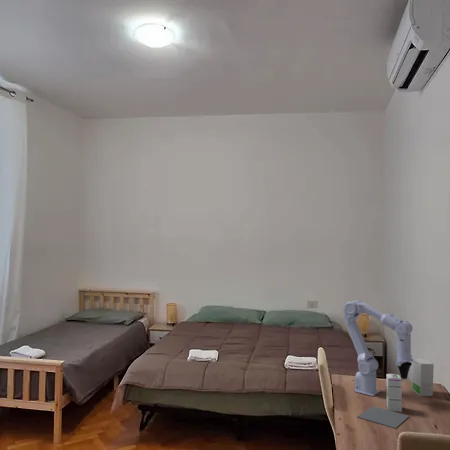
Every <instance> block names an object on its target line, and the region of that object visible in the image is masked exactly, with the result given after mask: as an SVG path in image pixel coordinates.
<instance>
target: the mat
mask: <svg viewBox="0 0 450 450" xmlns="http://www.w3.org/2000/svg"><path fill="white" fill-rule="evenodd" d="M356 418H358V419H361V420H363V421H368V422H372V423H376V424H378V425H381V426H385V427H388V428H391V429H397V428H398V427H400V425H402V424H403V423H404V422H405V421H407V420H408V419H409V418H410V415H406V414H403V413H401V412H395V411H389V410H388V409H386V408H382V407H381V408H380V407H377V406H374V405H372V406H370V407H369V408H367V409H366V410H365V411H363V412H362V413H360V414H359V415H357V417H356ZM407 418H408V419H407Z"/></svg>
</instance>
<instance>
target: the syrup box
mask: <svg viewBox="0 0 450 450" xmlns="http://www.w3.org/2000/svg"><path fill="white" fill-rule="evenodd" d="M385 376H386V379H385V380H386V381H385V382H386V383H385V384H386V385H385V386H386V408H387V410H389V411H393V412H397V413H403V395H402V394H403V391H402V378H401V375H400V374H395V373H386V375H385Z"/></svg>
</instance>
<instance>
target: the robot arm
mask: <svg viewBox="0 0 450 450" xmlns="http://www.w3.org/2000/svg"><path fill="white" fill-rule="evenodd" d="M342 308H343V309H342V310H343V322H344V325H345V328H346V329H347V332H348V334H349V336H350V339H351V341H352V345H353V347H354V349H355V351H356V354H357V364H358V365H357V366H358V371H357V372H356V373H355V376H354V378H355V379H354V392H356V393H359V394H364V395H367V396H371V397H374V396H376V395H377V394H378V393H380V392H381V391H380V390H378V389H377V370H378V369H379V362H378V360H377V359H376V358H375V357H374V355H373V354H372V353H371V352H370V351H369V349H368V347H367V345H366V342H365V340H364V339H365V338H364V336H363V334H362V332H361V330H360V327H359V325H358V322H357V319H358V316H359V315H360V314H367V315H369V316H371V317H373V318H375V319H377V320H379V321H380V322H381V324H382V325H383V326H385V327H387V328H389V329H391V330H392V331H394V332H395V333H396V335H397V337H396V338H397V339H396V340H397V341H396V344H397V346H396V347H397V348H396V349H397V351H396V353H397V354H396V355H397V357H396V360H395V366H397V368H398V371H399V375H400V377H401V379H403V380H407V379H408V375H409V371H410V368H411V366H413V359H414V358H413V355H412V353H411V352H412V345H411V344H412V339H411V337H412V336H411V335H412V334H411V333H412V332H413V325H412V323H411V322H409V321H408V320H403V319H402V318H398V317H396V316H394V314H393V313H388V312H387V313H383V312H382V311H379V310H378V309H376V308H374V307H373V306H371V305H370V304H369V303H367V302H365V301H363V300H361V299H355V300H352V301H347V302H345V304H344V305H343V307H342Z"/></svg>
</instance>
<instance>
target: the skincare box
mask: <svg viewBox="0 0 450 450" xmlns="http://www.w3.org/2000/svg"><path fill="white" fill-rule="evenodd" d="M412 359H413V362H412V378H411V380H412V381H411V382H412V383H411V390H412V391H413V392H414V393H415V394H417V395H418V396H419V397H433V395H434V369H435V367H434V364H435V363H433V362H431V360H428V359H426V358H424V357H423V358H412Z"/></svg>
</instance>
